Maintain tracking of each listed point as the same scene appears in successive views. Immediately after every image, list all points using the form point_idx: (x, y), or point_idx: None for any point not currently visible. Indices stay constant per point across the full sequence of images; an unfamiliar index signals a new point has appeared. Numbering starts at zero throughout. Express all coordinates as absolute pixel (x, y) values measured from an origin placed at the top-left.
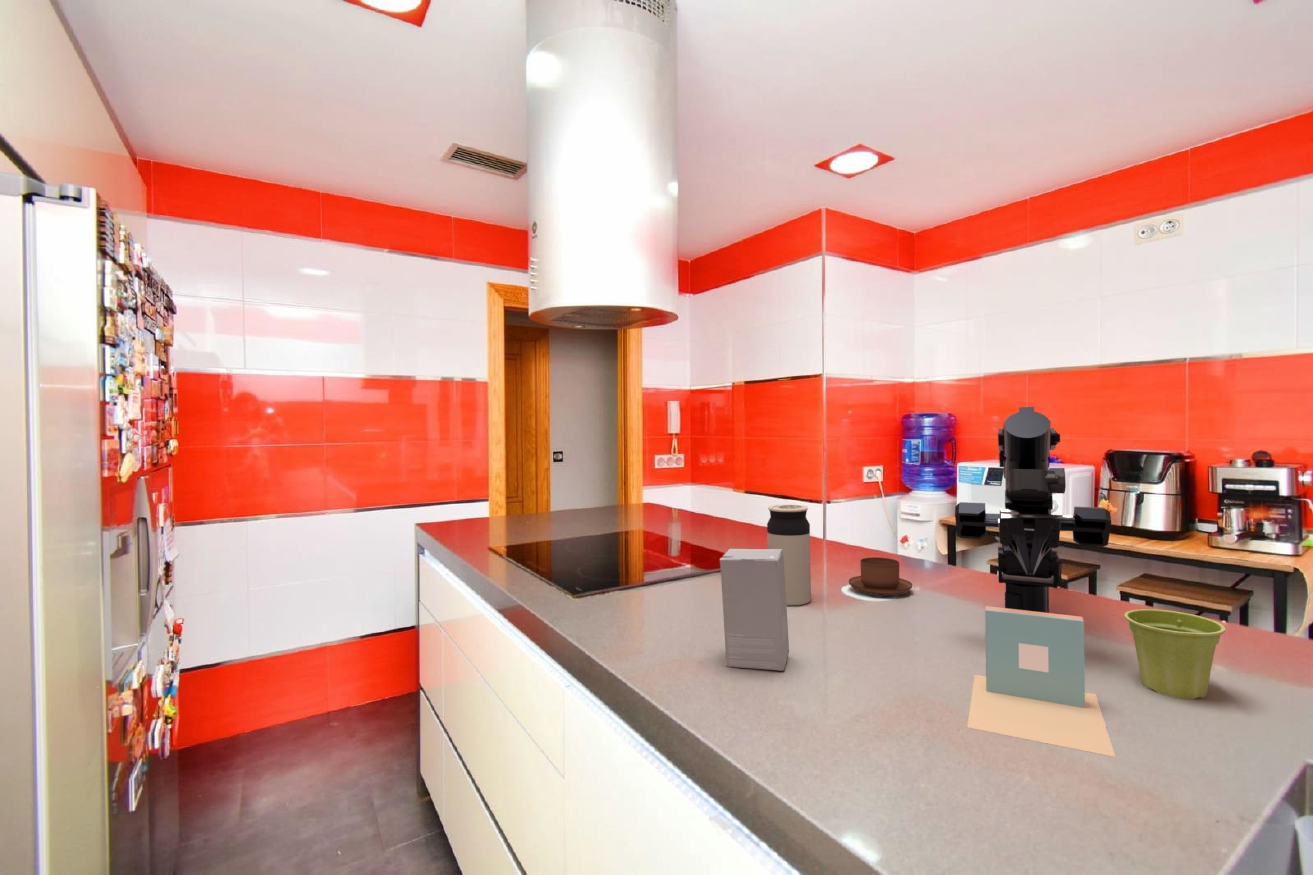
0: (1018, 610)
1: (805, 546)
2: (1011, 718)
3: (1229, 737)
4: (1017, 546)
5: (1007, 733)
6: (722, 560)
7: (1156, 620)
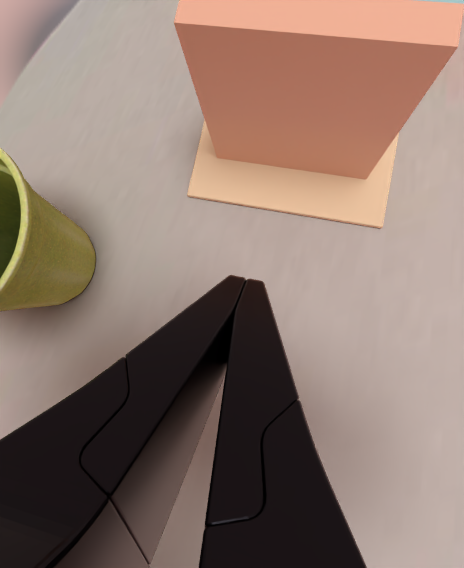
0: (351, 26)
1: None
2: None
3: (67, 109)
4: (304, 418)
5: None
6: None
7: None
